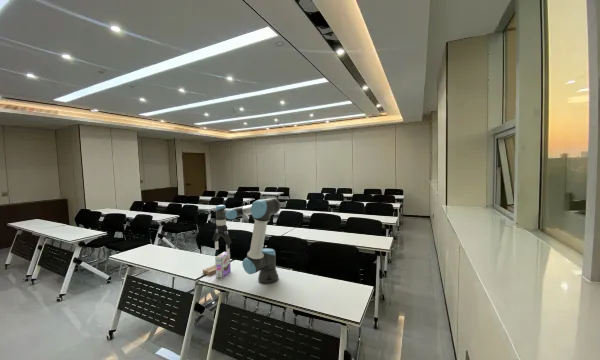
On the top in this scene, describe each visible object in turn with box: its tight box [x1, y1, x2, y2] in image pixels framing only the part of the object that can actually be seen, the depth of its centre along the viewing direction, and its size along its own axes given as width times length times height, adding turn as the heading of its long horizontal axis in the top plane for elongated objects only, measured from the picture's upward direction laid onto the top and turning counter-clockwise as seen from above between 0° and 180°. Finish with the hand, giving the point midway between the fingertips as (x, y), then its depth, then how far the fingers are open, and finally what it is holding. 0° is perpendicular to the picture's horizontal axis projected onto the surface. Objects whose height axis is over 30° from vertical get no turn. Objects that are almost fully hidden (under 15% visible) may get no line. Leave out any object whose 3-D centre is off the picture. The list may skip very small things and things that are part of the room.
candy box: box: [215, 251, 231, 279], centre depth 201 cm, size 14×6×16 cm, turn 168°
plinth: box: [202, 264, 216, 277], centre depth 208 cm, size 9×15×3 cm, turn 146°
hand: (222, 250), depth 200 cm, fingers open, 13 cm apart
